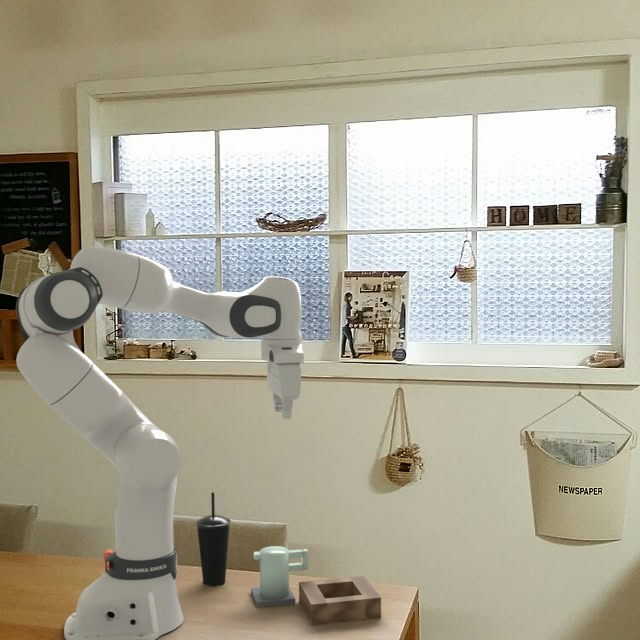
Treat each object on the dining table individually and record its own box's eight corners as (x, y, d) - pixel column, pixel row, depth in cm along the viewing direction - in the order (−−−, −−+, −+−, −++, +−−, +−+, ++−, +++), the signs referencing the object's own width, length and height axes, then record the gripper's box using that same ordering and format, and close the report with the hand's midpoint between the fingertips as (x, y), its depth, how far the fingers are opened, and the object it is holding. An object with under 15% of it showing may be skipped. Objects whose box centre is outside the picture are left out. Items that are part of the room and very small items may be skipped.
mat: (256, 607, 168) (256, 602, 168) (251, 592, 176) (251, 588, 176) (295, 603, 170) (295, 598, 170) (288, 589, 178) (288, 584, 178)
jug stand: (311, 624, 159) (311, 604, 159) (299, 601, 171) (298, 582, 171) (381, 617, 163) (381, 597, 162) (364, 594, 174) (364, 576, 174)
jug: (256, 600, 169) (256, 557, 169) (252, 589, 175) (252, 547, 174) (310, 595, 171) (310, 552, 171) (305, 584, 177) (304, 543, 177)
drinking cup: (225, 590, 178) (224, 498, 176) (191, 587, 179) (190, 496, 178) (236, 577, 185) (234, 489, 184) (203, 575, 187) (202, 487, 185)
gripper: (259, 348, 188) (260, 408, 189) (275, 356, 168) (276, 423, 169) (287, 347, 190) (287, 406, 190) (305, 355, 170) (306, 422, 170)
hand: (282, 415), depth 180 cm, fingers open, 8 cm apart
